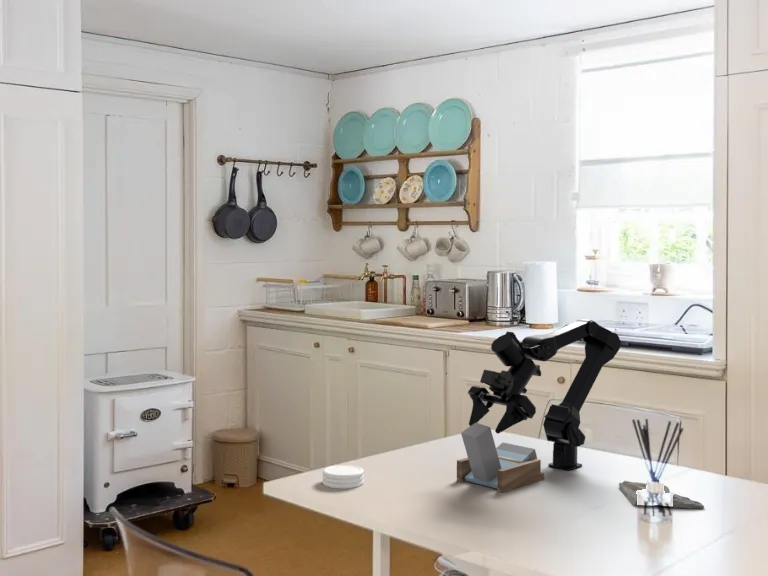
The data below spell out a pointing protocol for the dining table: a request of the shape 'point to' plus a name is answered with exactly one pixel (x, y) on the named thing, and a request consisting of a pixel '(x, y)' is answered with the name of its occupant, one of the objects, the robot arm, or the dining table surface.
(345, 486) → the coaster
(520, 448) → the trapdoor
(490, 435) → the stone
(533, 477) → the hatch frame
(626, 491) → the fossil rock
